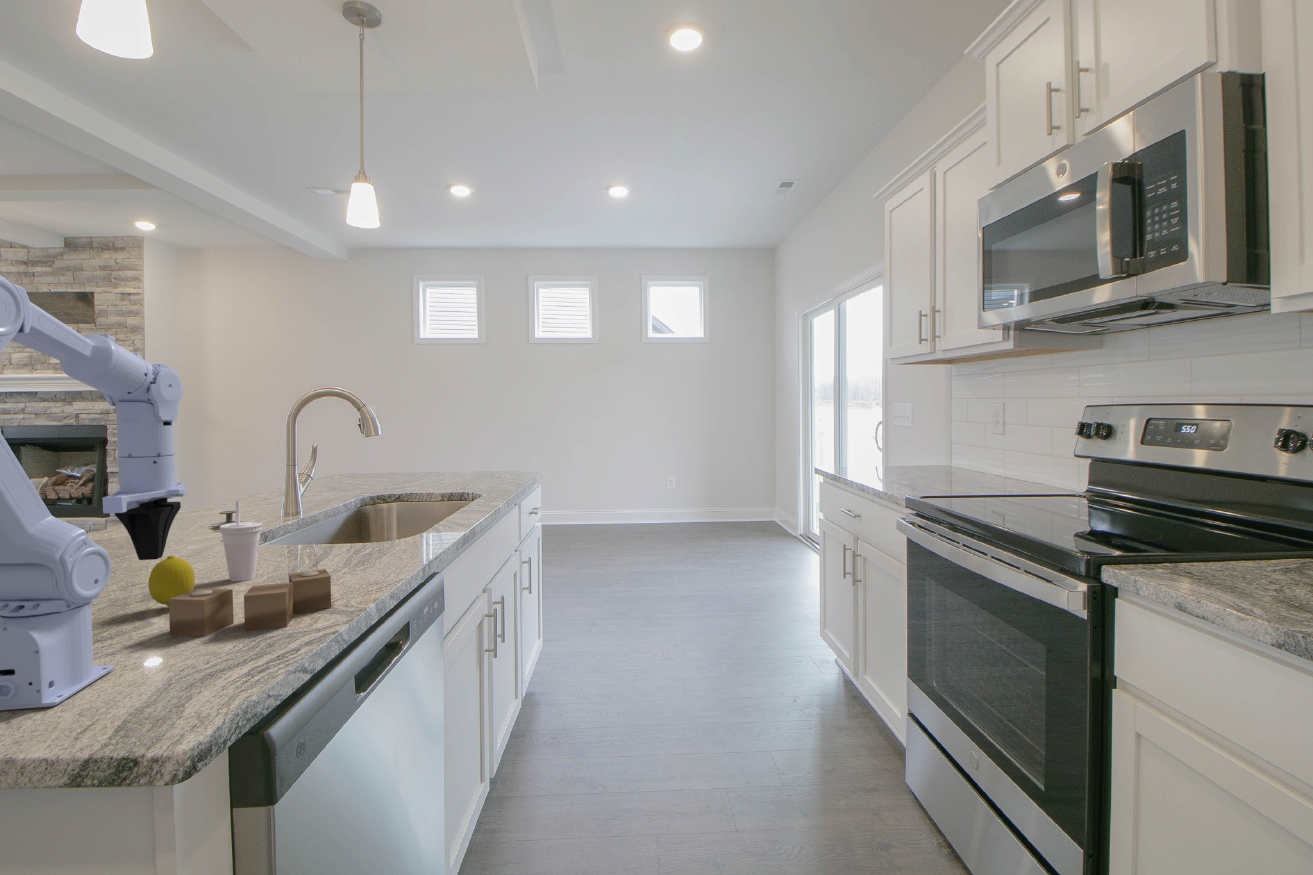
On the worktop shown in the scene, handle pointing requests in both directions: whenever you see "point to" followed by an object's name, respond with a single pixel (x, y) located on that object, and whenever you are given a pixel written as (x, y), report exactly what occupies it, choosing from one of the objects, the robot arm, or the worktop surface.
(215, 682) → the worktop surface
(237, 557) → the smoothie
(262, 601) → the plain block
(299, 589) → the dotted block
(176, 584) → the lemon
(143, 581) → the worktop surface
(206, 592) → the dotted block
